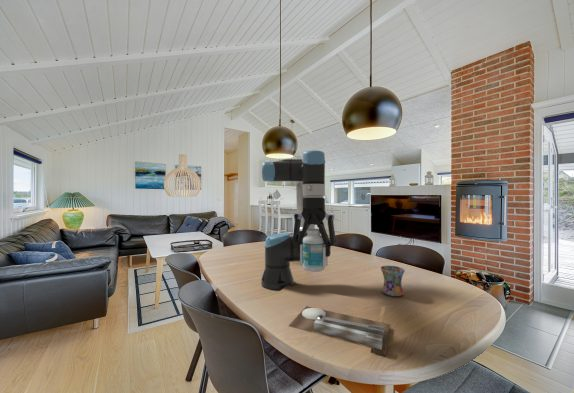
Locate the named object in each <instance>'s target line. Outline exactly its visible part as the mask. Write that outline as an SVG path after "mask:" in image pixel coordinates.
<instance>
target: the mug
mask: <svg viewBox="0 0 574 393" xmlns="http://www.w3.org/2000/svg"><path fill="white" fill-rule="evenodd" d="M380 269H381V270H380V271H381V272H382V277H383V286H382V288H381V292H382V293H383V294H384V295H387V296H390V297H402V296H403V295H404V291H403V290H404V289H403V287H402V279H403V276H404V274H405V269H404V268H403V267H401V266H397V265H396V266H395V265H383V266H381V267H380Z"/></svg>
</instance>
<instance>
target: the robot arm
mask: <svg viewBox="0 0 574 393" xmlns="http://www.w3.org/2000/svg"><path fill="white" fill-rule="evenodd" d="M325 156H326V155H325V153H324V151H322V150H307V151H304V152H303V153H302V159H300V158H298V159H297V158H293V159H291V158H286V159H280V160H276V161H264V162H262V164H261V178H262V181H264V182H270V183H273V182H292V183H293V186H295V187H296V188H295V190H296V191H295V192H296V194H295V195H296V213H294V215H293V217H294V228H293V234H292V236H291V234H290V233H288V232H286V233H285V232H284V233H283V232H280V233H275V234H270V235H268V236H266V238H265V241H264V248H265V251H264V269H263V270H264V271H263V273H262V277H261V281H260V282H261V283H260V284H261V286H262V287H263V288H265V289H267V290H268V289H269V290H275V291H276V290H283V289H284V288H286V287H292V286H294V282H295V281H294V277H293V276H294V275H293V273H292V270H291V265H290V264H291V263H295V262H298V263H299V264H300V265H303V238H304V237H305V236H307V229H316V228H315V226H317V229H319V230H320V236H322V238H323V241H324V244H325V246H324V247H323V267H325V268H326V267H327V266H329V264H328V263H329V260H328V257H330V256H331V247H332V246H335V245H336V244H337V239H336V233H335V225H334V221H335V214H330V213H329V214H328V213H327V212H326V199H325V195H326V188H325V187H326V184H325V182H326V180H325V178H326V177H325V176H326V172H325V171H326V158H325ZM325 218H326V221H327V227H328V233H327V230H326V227H325V222H324V219H325Z"/></svg>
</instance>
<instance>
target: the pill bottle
mask: <svg viewBox="0 0 574 393" xmlns="http://www.w3.org/2000/svg"><path fill="white" fill-rule="evenodd" d="M324 246H325V244H324V241H323V238H322V236H321V233H320V230H319V228H315V229H307V236H305V237H304V238H303V264H302V269H303V270H304V271H307V272H311V273H318V272H320V273H321V272H322V271H324V270H325V268H326V267H323V247H324Z"/></svg>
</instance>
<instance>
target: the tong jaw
mask: <svg viewBox="0 0 574 393" xmlns="http://www.w3.org/2000/svg"><path fill="white" fill-rule="evenodd" d="M317 320H318V321H322V322H326V323H330V324H334V325H339V326H343V327H347V328H351V329H355V330H359V331H364V332H368V333H372V334H376V335H380V336H383V327H380V326H375V325H370V324H369V325H366V324H361V323H355V322H350V321H344V320H339V319H334V318H328V317H324V316H323V315H319V316H317Z"/></svg>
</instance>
